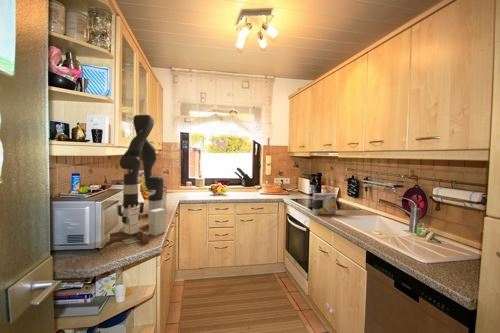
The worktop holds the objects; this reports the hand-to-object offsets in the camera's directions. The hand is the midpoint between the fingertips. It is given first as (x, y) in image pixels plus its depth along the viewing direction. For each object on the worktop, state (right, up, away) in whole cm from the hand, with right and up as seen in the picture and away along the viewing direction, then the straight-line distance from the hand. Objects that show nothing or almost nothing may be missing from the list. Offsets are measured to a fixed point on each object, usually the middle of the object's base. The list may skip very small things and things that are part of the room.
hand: (130, 221), depth 146 cm
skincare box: (+10, -10, +15) cm, 20 cm away
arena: (0, -11, -3) cm, 11 cm away
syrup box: (0, -6, 0) cm, 6 cm away
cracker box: (-8, -8, +65) cm, 66 cm away
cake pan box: (+128, -9, +72) cm, 147 cm away
